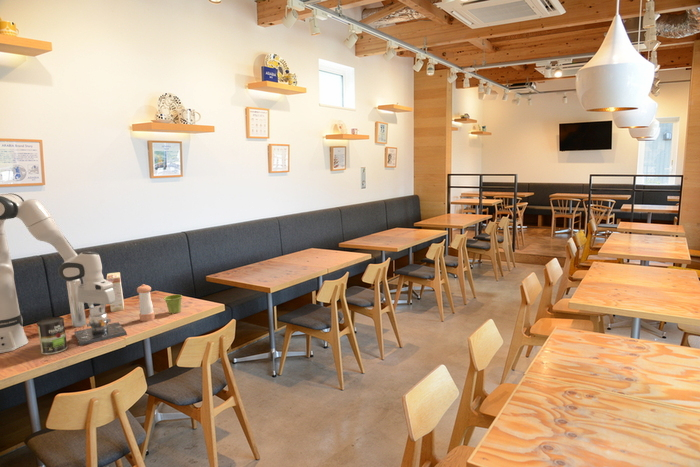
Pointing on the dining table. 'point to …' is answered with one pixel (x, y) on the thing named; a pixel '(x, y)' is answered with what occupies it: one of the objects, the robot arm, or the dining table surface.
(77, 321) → the thermos flask
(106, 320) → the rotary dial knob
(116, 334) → the post plate
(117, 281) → the coffeecake box
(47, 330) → the coffee can
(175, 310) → the plant pot
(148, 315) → the pepper shaker
